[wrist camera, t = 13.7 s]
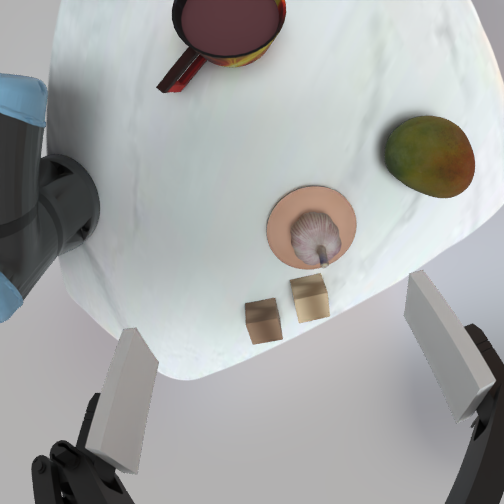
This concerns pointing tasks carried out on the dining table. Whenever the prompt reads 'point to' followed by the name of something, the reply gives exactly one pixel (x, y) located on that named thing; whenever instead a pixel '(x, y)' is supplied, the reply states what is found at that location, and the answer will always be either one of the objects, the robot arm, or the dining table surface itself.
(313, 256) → the garlic bulb
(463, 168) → the fruit
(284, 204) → the peach ellipsoid
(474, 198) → the dining table surface
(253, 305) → the walnut block
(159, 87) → the mug
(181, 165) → the dining table surface
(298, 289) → the oak block
